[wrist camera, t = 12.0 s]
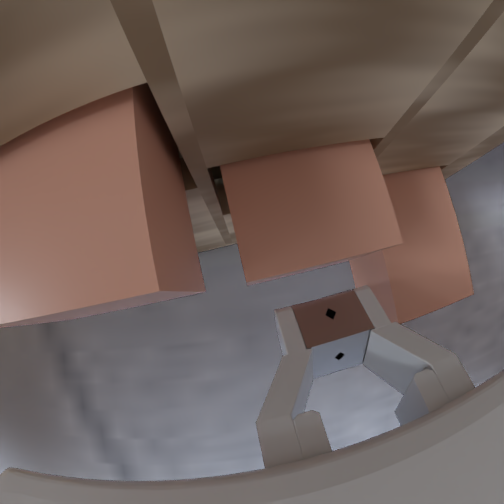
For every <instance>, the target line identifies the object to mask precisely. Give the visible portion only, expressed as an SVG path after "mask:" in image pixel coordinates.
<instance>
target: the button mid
mask: <svg viewBox="0 0 504 504" xmlns="http://www.w3.org/2000/svg"><path fill="white" fill-rule="evenodd" d="M220 170H221V174H222V178H223V183H224V187H225V192H226V196H227V201H228V205H229V209H230V214H231V218H232V223H233V227H234V231H235V236H236V240H237V244H238V249H239V253H240V257H241V261H242V266H243V270H244V274H245V279H246V283H247V285H248V286H249V285H254V284H258V283H262V282H266V281H270V280H275V279H279V278H283V277H287V276H291V275H295V274H299V273H303V272H307V271H311V270H315V269H319V268H323V267H327V266H331V265H335V264H339V263H343V262H347V261H350V260H354V259H357V258H360V257H363V256H366V255H369V254H372V253H375V252H378V251H381V250H384V249H387V248H390V247H393V246H396V245H399V244H402V243H403V241H402V237H401V233H400V230H399V226H398V222H397V219H396V216H395V212H394V209H393V206H392V202H391V199H390V196H389V193H388V190H387V187H386V184H385V181H384V178H383V175H382V172H381V169H380V167H379V164H378V161H377V158H376V156H375V153H374V150H373V148H372V145H371V142H370V140H369V139H367V140H359V141H351V142H344V143H337V144H330V145H324V146H317V147H311V148H305V149H299V150H294V151H288V152H283V153H277V154H272V155H267V156H262V157H257V158H252V159H247V160H243V161H238V162H233V163H229V164H224V165H220Z"/></svg>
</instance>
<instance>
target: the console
mask: <svg viewBox="0 0 504 504" xmlns="http://www.w3.org/2000/svg"><path fill="white" fill-rule="evenodd" d="M144 83H148V85H149V87H150V89H151V91H152V94H153V96H154V98H155V100H156V102H157V104H158V106H159V108H160V111H161V113H162V115H163V117H164V119H165V121H166V123H167V125H168V127H169V130H170V132H171V134H172V136H173V138H174V140H175V142H176V144H177V146H178V152H179V158H180V164H181V170H182V175H183V181H184V186H185V192H186V197H187V203H188V208H189V213H190V218H191V223H192V228H193V233H194V238H195V243H196V248H197V252H198V253H199V252H203V251H207V250H211V249H216V248H220V247H224V246H228V245H233V244H237V240H236V236H235V231H234V227H233V223H232V218H231V214H230V209H229V205H228V201H227V196H226V192H225V187H224V183H223V178H222V174H221V170H220V165H224V164H229V163H233V162H238V161H243V160H247V159H252V158H257V157H262V156H267V155H272V154H277V153H283V152H288V151H294V150H299V149H305V148H311V147H317V146H324V145H330V144H337V143H344V142H351V141H359V140H367V139H369V140H370V142H371V145H372V148H373V150H374V153H375V156H376V158H377V161H378V164H379V167H380V169H381V172H382V175H385V174H391V173H397V172H404V171H410V170H417V169H423V168H430V167H437V166H440V168H441V171H442V174H443V177H444V179H447V178H448V177H450V176H451V175H453V174H455V173H456V172H458V171H459V170H461V169H463V168H464V167H466V166H467V165H469V164H471V163H472V162H474V161H475V160H477V159H478V158H480V157H482V156H483V155H485V154H486V153H488V152H489V151H491V150H492V149H494V148H496V147H497V146H499V145H500V144H502V143H503V142H504V0H0V146H2V145H3V144H5V143H7V142H9V141H10V140H12V139H14V138H16V137H18V136H19V135H21V134H23V133H25V132H27V131H29V130H31V129H33V128H35V127H37V126H39V125H41V124H43V123H45V122H47V121H49V120H51V119H53V118H55V117H57V116H60V115H62V114H64V113H66V112H69V111H71V110H73V109H75V108H78V107H80V106H83V105H85V104H87V103H90V102H92V101H95V100H98V99H100V98H103V97H105V96H108V95H111V94H114V93H116V92H119V91H122V90H125V89H128V88H131V87H134V86H137V85H140V84H144Z"/></svg>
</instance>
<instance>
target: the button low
mask: <svg viewBox="0 0 504 504" xmlns="http://www.w3.org/2000/svg"><path fill="white" fill-rule="evenodd" d="M383 178H384V181H385V184H386V187H387V190H388V193H389V196H390V199H391V202H392V206H393V209H394V212H395V216H396V219H397V222H398V226H399V230H400V233H401V237H402V241H403V243H402V244H399V245H396V246H393V247H390V248H387V249H384V250H381V251H378V252H375V253H372V254H369V255H366V256H363V257H360V258H357V259H354V260H350V261H349V262H350V266H351V270H352V274H353V279H354V283H355V287H356V288H358V287H362V286H365V285H367V286H369V287H370V289H371V290H372V292H373V293H374V295H375V297H376V298H377V300H378V301H379V303H380V305H381V306H382V308H383V310H384V311H385V313H386V315H387V316H388V318H389V320H390V321H391V323H393V322H397V323H399V324H402V323H405V322H407V321H410V320H413V319H415V318H418V317H421V316H423V315H426V314H428V313H431V312H433V311H436V310H438V309H441V308H443V307H445V306H448V305H450V304H453V303H455V302H457V301H460V300H462V299H464V298H466V297H469V296H471V295H473V294H474V291H473V285H472V280H471V275H470V270H469V265H468V260H467V256H466V251H465V247H464V243H463V239H462V235H461V231H460V228H459V224H458V220H457V217H456V213H455V210H454V207H453V204H452V200H451V197H450V194H449V191H448V188H447V185H446V182H445V179H444V177H443V174H442V171H441V168H440V166H437V167H430V168H423V169H417V170H410V171H404V172H397V173H391V174H385V175H383Z"/></svg>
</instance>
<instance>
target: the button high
mask: <svg viewBox="0 0 504 504" xmlns="http://www.w3.org/2000/svg"><path fill="white" fill-rule="evenodd" d="M203 292H206V289H205V285H204V280H203V276H202V271H201V266H200V262H199V257H198V252H197V248H196V243H195V238H194V233H193V228H192V223H191V218H190V213H189V208H188V203H187V197H186V192H185V186H184V181H183V175H182V170H181V164H180V158H179V152H178V146H177V144H176V142H175V140H174V138H173V136H172V134H171V132H170V130H169V127H168V125H167V123H166V121H165V119H164V117H163V115H162V113H161V111H160V108H159V106H158V104H157V102H156V100H155V98H154V96H153V94H152V91H151V89H150V87H149V85H148V83H144V84H140V85H137V86H134V87H131V88H128V89H125V90H122V91H119V92H116V93H114V94H111V95H108V96H105V97H103V98H100V99H98V100H95V101H92V102H90V103H87V104H85V105H83V106H80V107H78V108H75V109H73V110H71V111H69V112H66V113H64V114H62V115H60V116H57V117H55V118H53V119H51V120H49V121H47V122H45V123H43V124H41V125H39V126H37V127H35V128H33V129H31V130H29V131H27V132H25V133H23V134H21V135H19V136H18V137H16V138H14V139H12V140H10V141H9V142H7V143H5V144H3V145H2V146H0V328H4V327H14V326H24V325H33V324H41V323H50V322H58V321H66V320H73V319H78V318H83V317H88V316H93V315H98V314H103V313H108V312H113V311H118V310H123V309H128V308H133V307H138V306H143V305H147V304H152V303H157V302H162V301H166V300H171V299H176V298H180V297H185V296H189V295H194V294H198V293H203Z"/></svg>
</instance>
